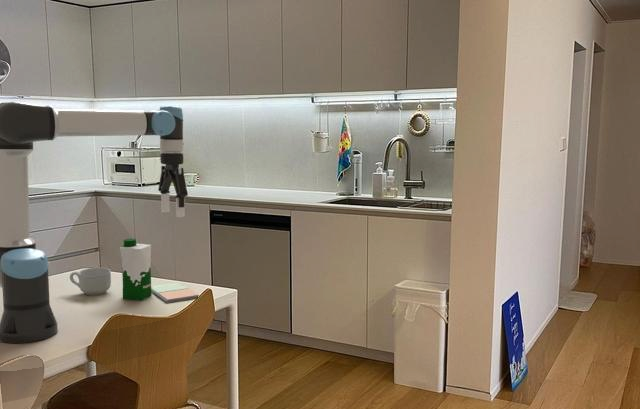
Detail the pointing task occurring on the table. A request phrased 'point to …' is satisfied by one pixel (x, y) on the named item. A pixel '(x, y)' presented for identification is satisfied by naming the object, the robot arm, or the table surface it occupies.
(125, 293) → the soya milk
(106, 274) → the teacup
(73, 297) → the table surface
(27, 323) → the robot arm
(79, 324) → the table surface
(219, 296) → the table surface
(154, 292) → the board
